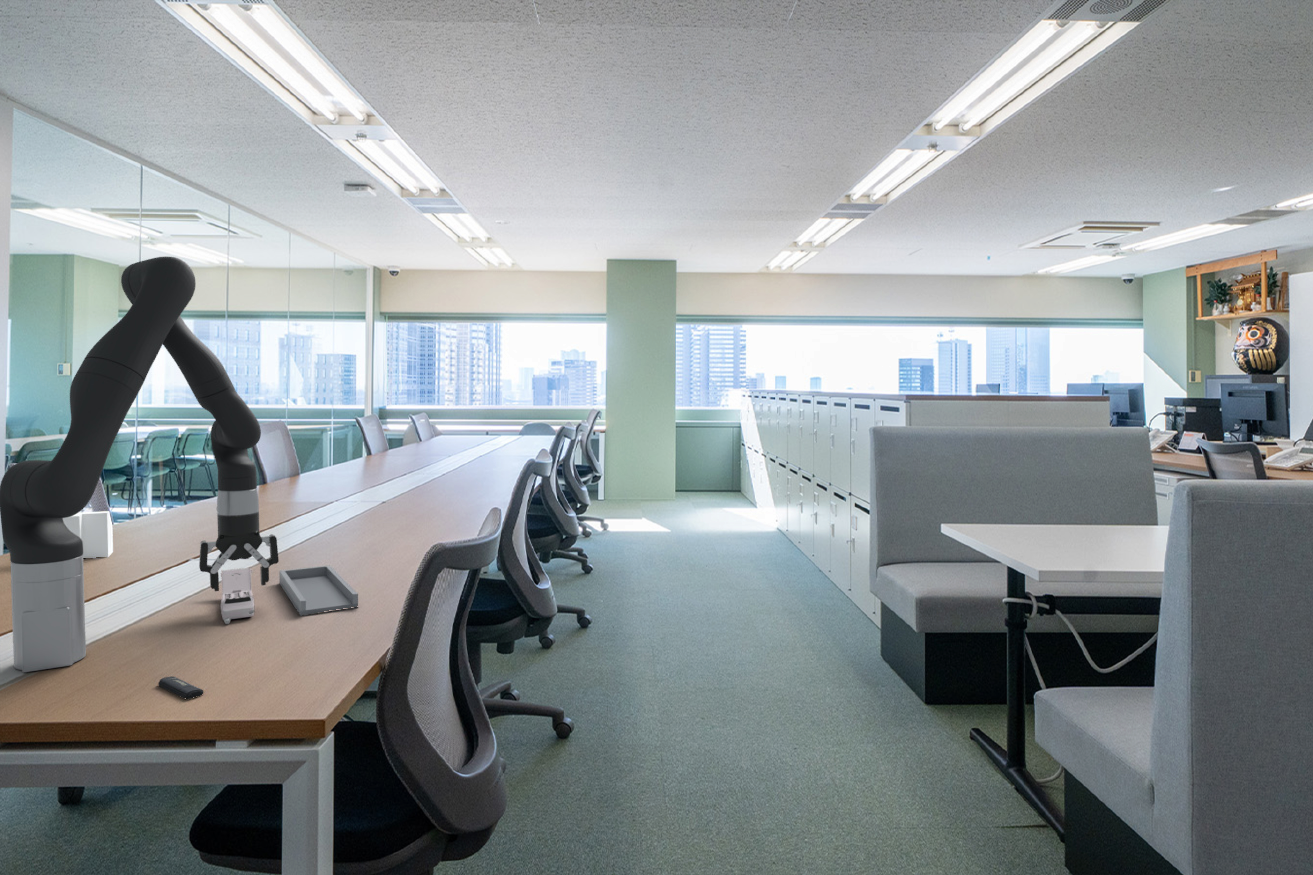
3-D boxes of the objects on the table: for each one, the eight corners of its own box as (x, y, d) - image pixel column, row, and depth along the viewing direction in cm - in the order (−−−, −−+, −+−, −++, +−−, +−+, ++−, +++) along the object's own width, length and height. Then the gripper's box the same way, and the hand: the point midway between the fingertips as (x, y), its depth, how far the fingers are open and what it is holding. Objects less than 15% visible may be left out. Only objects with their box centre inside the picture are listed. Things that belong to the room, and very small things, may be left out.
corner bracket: (54, 563, 189) (53, 517, 188) (64, 555, 199) (63, 510, 198) (106, 559, 194) (104, 514, 193) (113, 551, 204) (112, 508, 203)
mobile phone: (251, 566, 166) (255, 592, 144) (252, 592, 166) (256, 622, 145) (220, 569, 163) (219, 596, 141) (221, 596, 163) (220, 626, 142)
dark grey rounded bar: (205, 697, 110) (205, 687, 110) (186, 703, 107) (186, 692, 107) (175, 682, 115) (175, 673, 115) (156, 688, 113) (156, 678, 113)
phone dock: (358, 607, 155) (358, 593, 155) (300, 615, 148) (300, 601, 148) (329, 577, 179) (329, 565, 179) (279, 583, 173) (279, 570, 173)
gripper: (199, 516, 146) (201, 597, 147) (279, 510, 154) (281, 586, 155) (196, 511, 152) (199, 588, 153) (273, 505, 160) (275, 578, 161)
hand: (240, 587), depth 154 cm, fingers open, 8 cm apart
